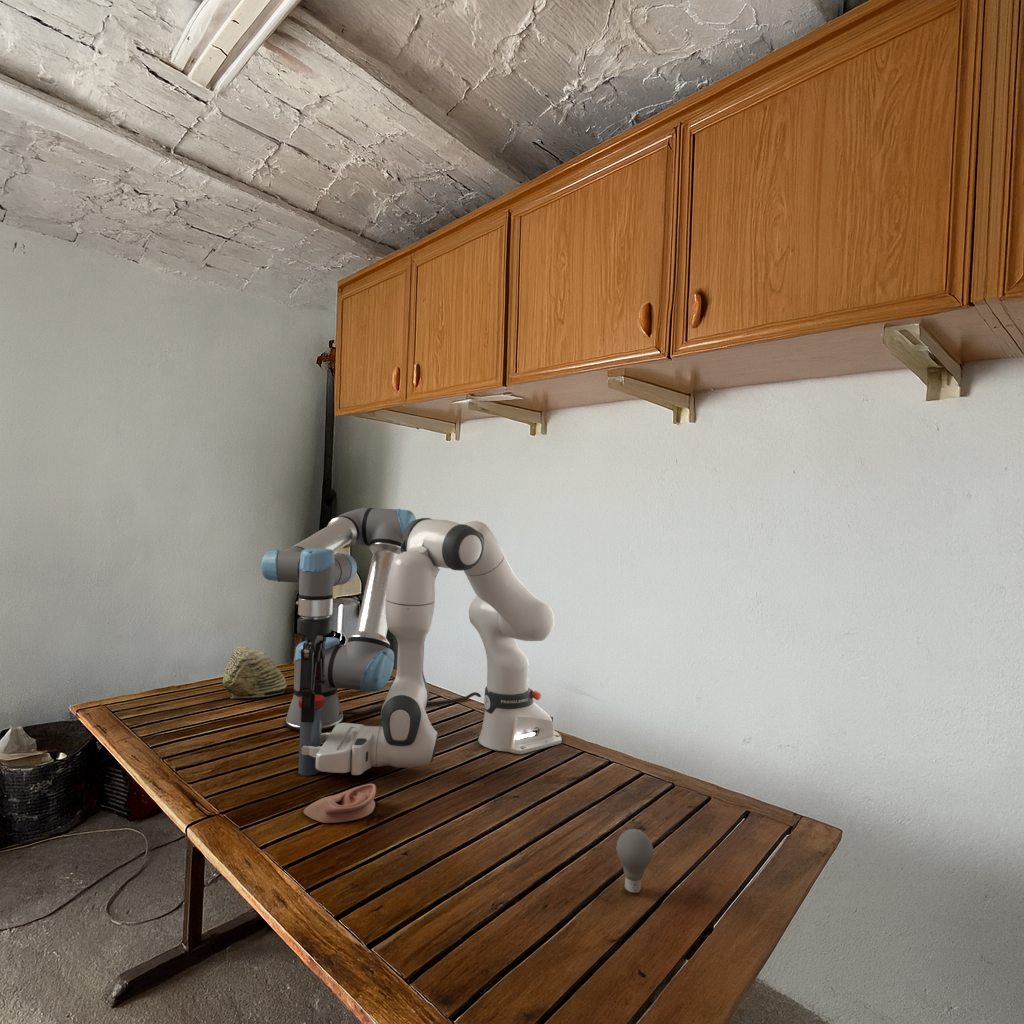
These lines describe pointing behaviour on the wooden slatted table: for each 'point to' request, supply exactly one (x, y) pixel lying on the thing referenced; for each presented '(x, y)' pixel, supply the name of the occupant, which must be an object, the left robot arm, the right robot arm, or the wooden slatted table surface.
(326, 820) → the anatomical model
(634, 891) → the light bulb
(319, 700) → the lid
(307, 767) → the blue grey capped cylinder
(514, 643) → the right robot arm
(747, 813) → the wooden slatted table surface
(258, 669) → the fossil
